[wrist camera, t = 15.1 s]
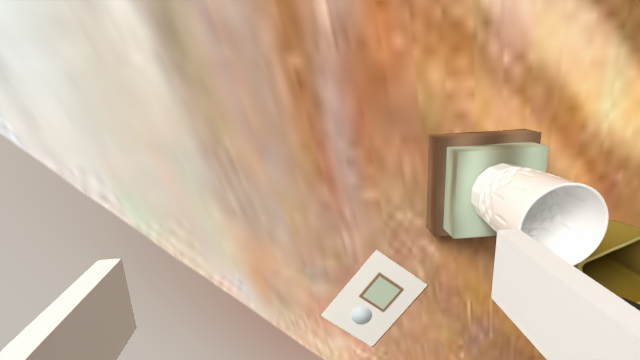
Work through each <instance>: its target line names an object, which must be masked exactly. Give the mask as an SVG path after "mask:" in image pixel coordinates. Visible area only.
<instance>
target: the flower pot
mask: <svg viewBox="0 0 640 360" xmlns="http://www.w3.org/2000/svg"><path fill="white" fill-rule="evenodd" d="M574 267H575V268H577V269H578V270H580V271H581V272H583V273H584V274H586V275H587V276H589V277H590V278H592V279H593V280H595V281H596V282H598V283H599V284H601V285H602V286H603V287H605V288H606V289H608V290H609V291H611V292H612V293H614V294H615V295H617V296H618V297H620V298H623V297H624V298H626V299H628V300H631V301H633V302H635V303H638V304H640V228H637V227H634V226H631V225H627V224H624V223H621V222H617V221H613V220H609V221H608V227H607V231H606V233H605V236H604V238H603V240H602V242H601V243H600V245H599V246H598V247H597V249H596V250H595V251H594V252H593V253H592V254H591V255H590V256H589V257H587V258H586V259H585V260H583V261H582V262H580V263H578V264H576V265H574Z"/></svg>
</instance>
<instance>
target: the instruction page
mask: <svg viewBox="0 0 640 360" xmlns="http://www.w3.org/2000/svg"><path fill="white" fill-rule="evenodd" d="M426 286H427V284H426V283H425V282H423V281H422V280H420V279H419V278H417V277H416V276H414V275H413V274H412V273H410V272H409V271H407V270H406V269H404V268H403V267H401V266H400V265H398V264H397V263H396V262H394V261H393V260H391V259H390V258H388V257H387V256H385V255H384V254H383V253H381V252H380V251H378V250H376V251H375V252H374V253H373V254H372V255H371V257H370V258H369V259H368V260H367V261H366V263H365V264H364V265H363V266H362V267H361V268H360V270H359V271H358V272H357V273H356V274H355V276H354V277H353V278H352V279H351V280H350V281H349V283H348V284H347V285H346V286H345V287H344V289H343V290H342V291H341V292H340V293H339V295H338V296H337V297H336V298H335V299H334V300H333V302H332V303H331V304H330V305H329V306H328V308H327V309H326V310H325V311H324V312H323V313H322V315H321V316H322V317H324V318H326V319H327V320H329V321H331V322H332V323H334V324H335V325H337V326H339V327H340V328H342V329H344V330H345V331H347V332H348V333H350V334H352V335H353V336H355V337H357V338H358V339H360V340H361V341H363V342H365V343H366V344H368V345H370V346H371V347H372V346H373V345H374V344H375V343H376V342H377V341H378V340H379V339H380V337H381V336H382V335H383V334H384V333H385V332H386V331H387V330H388V329H389V327H390V326H391V325H392V324H393V323H394V322H395V321H396V320H397V319H398V317H399V316H400V315H401V314H402V313H403V312H404V311H405V310H406V309H407V307H408V306H409V305H410V304H411V303H412V302H413V301H414V300H415V298H416V297H417V296H418V295H419V294H420V293H421V292H422V291H423V290H424V288H425V287H426Z"/></svg>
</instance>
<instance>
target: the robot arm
mask: <svg viewBox="0 0 640 360" xmlns="http://www.w3.org/2000/svg"><path fill="white" fill-rule="evenodd" d="M491 298H492V299H493V300H494V301H495V302H496V303H497V305H498V306H499V307H500V308H501V309H502V310H503V311H504V312H505V313H506V315H507V316H508V317H509V318H510V319H511V320H512V321H513V322H514V324H515V325H516V326H517V327H518V328H519V329H520V330H521V331H522V332H523V334H524V335H525V336H526V337H527V338H528V339H529V340H530V341H531V343H532V344H533V345H534V346H535V347H536V348H537V349H538V350H539V351H540V353H541V354H542V355H543V356H544V357H545V358H546V359H547V360H640V304H638V303H635V302H633V301H631V300H628V299H626V298H624V297H623V298H620V297H618V296H617V295H615V294H614V293H612V292H611V291H609V290H608V289H606V288H605V287H603V286H602V285H601V284H599V283H598V282H596V281H595V280H593V279H592V278H590V277H589V276H587V275H586V274H584V273H583V272H581V271H580V270H578V269H577V268H575V267H574V266H572V265H571V264H569V263H568V262H567V261H565V260H564V259H562V258H561V257H559V256H558V255H556V254H555V253H553V252H552V251H550V250H549V249H547V248H546V247H544V246H543V245H541V244H540V243H538V242H537V241H535V240H534V239H533V238H531V237H530V236H528V235H527V234H525V233H524V232H522V231H521V230H519V229H508V230H497V239H496V251H495V262H494V273H493V285H492V296H491ZM135 329H136V324H135V319H134V314H133V310H132V305H131V300H130V296H129V291H128V287H127V282H126V278H125V273H124V268H123V264H122V259H109V260H98V261H97V262H96V263H95V264H94V265H93V266H92V267H90V268H89V269H88V270H87V271H86V272H85V273H84V274H83V275H82V276H81V277H80V278H79V279H78V280H77V281H75V283H74V284H72V285H71V286H70V287H69V288H68V289H67V290H66V291H65V292H64V293H63V294H62V295H61V296H59V297H58V298H57V299H56V300H55V301H54V302H53V303H52V304H51V305H50V306H49V307H48V308H47V309H45V311H43V312H42V313H41V314H40V315H39V316H38V317H37V318H36V319H35V320H34V321H33V322H32V323H30V324H29V325H28V326H27V327H26V328H25V329H24V330H23V331H22V332H21V333H20V334H19V335H18V336H17V337H16V338H14V339H13V340H12V341H11V342H10V343H9V344H8V345H7V346H6V347H5V348H4V349H3V350H2V351H1V352H0V360H116V359H117V358H118V356H119V355H120V353H121V351H122V350H123V348H124V347H125V345H126V344H127V342H128V340H129V339H130V337H131V336H132V334H133V332H134V331H135Z"/></svg>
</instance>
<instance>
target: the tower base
mask: <svg viewBox="0 0 640 360" xmlns="http://www.w3.org/2000/svg"><path fill="white" fill-rule="evenodd" d="M540 139H541V132H536V131H532V130H527V129H518V130H502V131H485V132H469V133H452V134H436V135H429V161H428V193H427V224H426V227H427V228H428V229H429V230H430V232H431V233H432V234H433V235H434V236H435V237H436V236H449V235H450V236H451V237H452V238H453V239H458V238H471V237H484V236H497V232H495V231H494V230H493V229H492V228H491V227H490V226H489V225H488V223H487V222H486V221H485V220H484V219H482V218H481V217H480V216H479V215H478V214H477V213H476V212H475V210H474V207H473V205H472V203H471V189H472V187H473V185H474V183H475V181H476V179H477V177H478V176H479V175H480V174H481V173H483V172H484V171H485V170H486V169H487V168H489V167H491V166H495V165H498V164H501V163H506V164H513V165H518V166H521V167H526V168H530V169H534V170H537V171H541V172H545V173H546V169H547V161H548V153H549V146H546V145H542V144H540Z"/></svg>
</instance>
